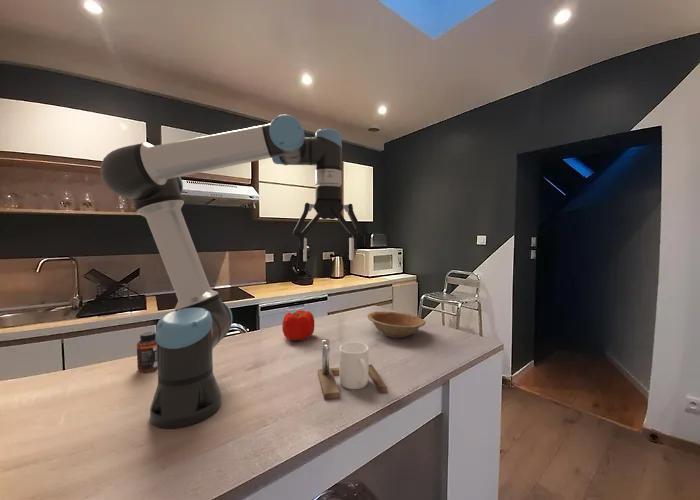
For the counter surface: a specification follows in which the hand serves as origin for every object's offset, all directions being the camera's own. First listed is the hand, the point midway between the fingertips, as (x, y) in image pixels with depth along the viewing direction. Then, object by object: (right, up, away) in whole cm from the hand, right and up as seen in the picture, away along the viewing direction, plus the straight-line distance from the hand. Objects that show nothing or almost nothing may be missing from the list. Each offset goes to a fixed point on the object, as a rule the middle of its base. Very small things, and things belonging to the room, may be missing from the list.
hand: (328, 260), depth 88 cm
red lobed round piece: (-15, -33, +35) cm, 50 cm away
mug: (+8, -35, -3) cm, 36 cm away
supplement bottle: (-57, -34, +7) cm, 67 cm away
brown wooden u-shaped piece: (+6, -35, -2) cm, 35 cm away
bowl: (+25, -33, +39) cm, 57 cm away
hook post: (0, -33, -1) cm, 33 cm away
